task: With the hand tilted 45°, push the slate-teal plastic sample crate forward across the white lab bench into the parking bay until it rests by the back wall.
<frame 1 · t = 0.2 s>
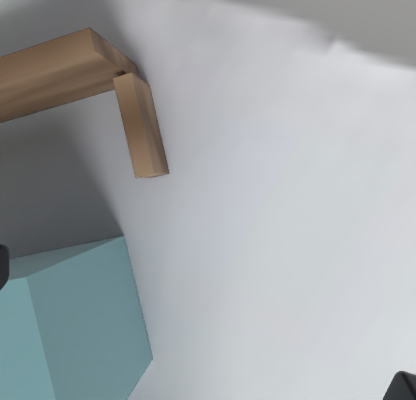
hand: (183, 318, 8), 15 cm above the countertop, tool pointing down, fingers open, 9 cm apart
crate: (64, 309, 26), on the countertop
bay: (36, 197, 25), on the countertop
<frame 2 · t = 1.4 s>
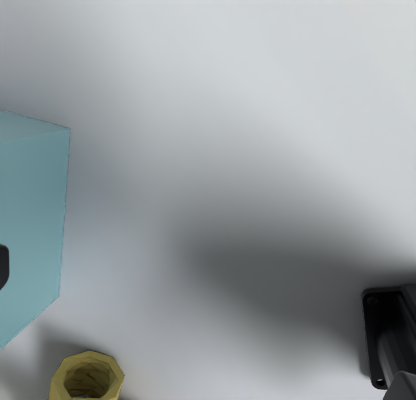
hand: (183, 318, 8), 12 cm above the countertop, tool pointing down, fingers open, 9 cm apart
crate: (4, 201, 23), on the countertop
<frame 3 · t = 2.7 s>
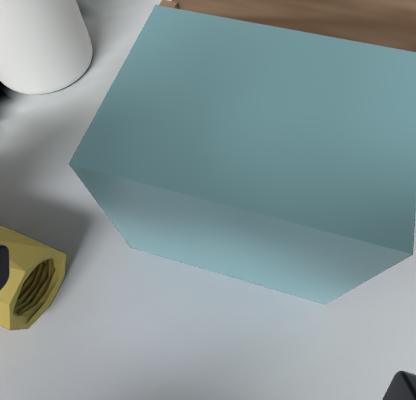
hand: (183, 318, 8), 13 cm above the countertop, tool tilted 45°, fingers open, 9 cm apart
crate: (242, 208, 23), on the countertop
bay: (271, 107, 26), on the countertop
pill bottle: (48, 62, 29), on the countertop
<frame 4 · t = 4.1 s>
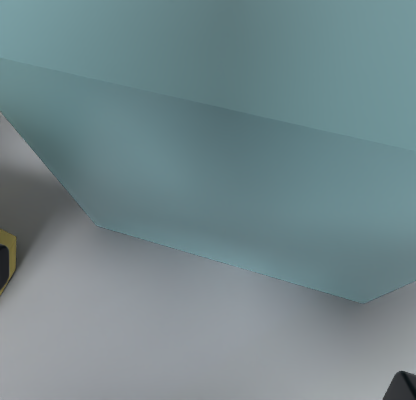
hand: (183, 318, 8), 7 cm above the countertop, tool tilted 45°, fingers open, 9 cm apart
crate: (247, 176, 17), on the countertop
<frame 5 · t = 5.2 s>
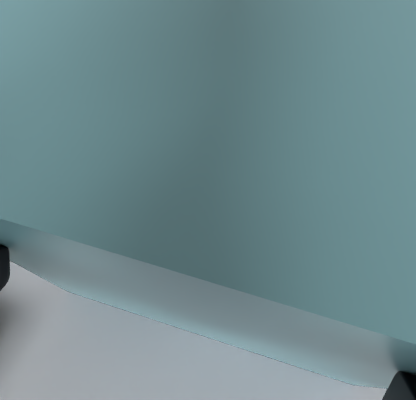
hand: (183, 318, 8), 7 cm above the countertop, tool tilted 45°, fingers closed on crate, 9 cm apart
crate: (231, 234, 16), on the countertop, touching gripper
when the fingers open (7 cm above the countertop, at t = 6.2 s): crate stays where it is, on the countertop.
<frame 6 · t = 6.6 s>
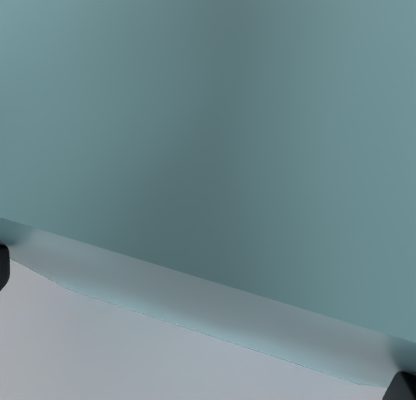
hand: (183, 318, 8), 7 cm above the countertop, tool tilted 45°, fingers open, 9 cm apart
crate: (234, 232, 16), on the countertop
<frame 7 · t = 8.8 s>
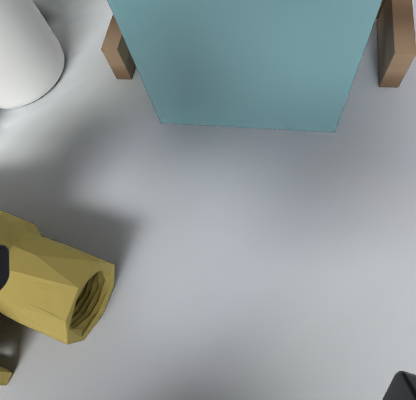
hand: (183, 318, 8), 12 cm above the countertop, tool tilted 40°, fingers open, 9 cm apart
ball valve: (10, 302, 22), on the countertop
crate: (250, 76, 26), on the countertop
bay: (248, 77, 26), on the countertop
pill bottle: (24, 73, 29), on the countertop
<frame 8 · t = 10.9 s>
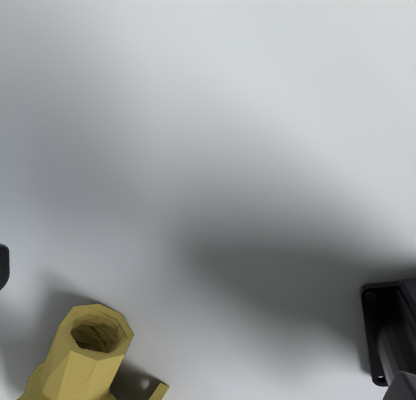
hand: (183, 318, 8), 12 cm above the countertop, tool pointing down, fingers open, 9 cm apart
ball valve: (113, 378, 26), on the countertop
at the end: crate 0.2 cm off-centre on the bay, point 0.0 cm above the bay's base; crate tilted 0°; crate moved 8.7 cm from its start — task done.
